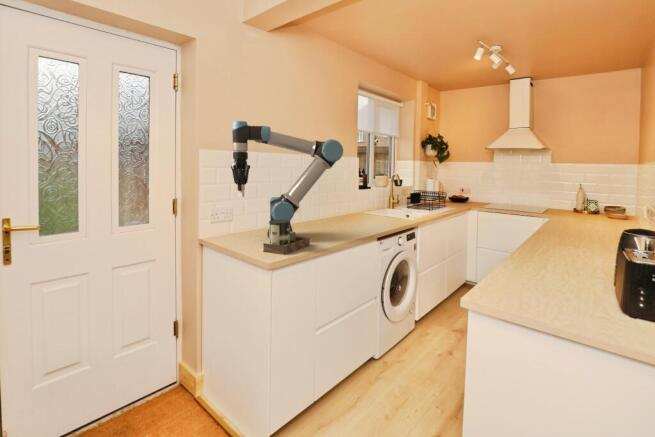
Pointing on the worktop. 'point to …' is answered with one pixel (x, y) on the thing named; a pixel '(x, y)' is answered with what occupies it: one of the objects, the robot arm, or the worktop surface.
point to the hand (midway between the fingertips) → (241, 196)
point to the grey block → (292, 235)
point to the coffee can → (279, 232)
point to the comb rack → (287, 246)
